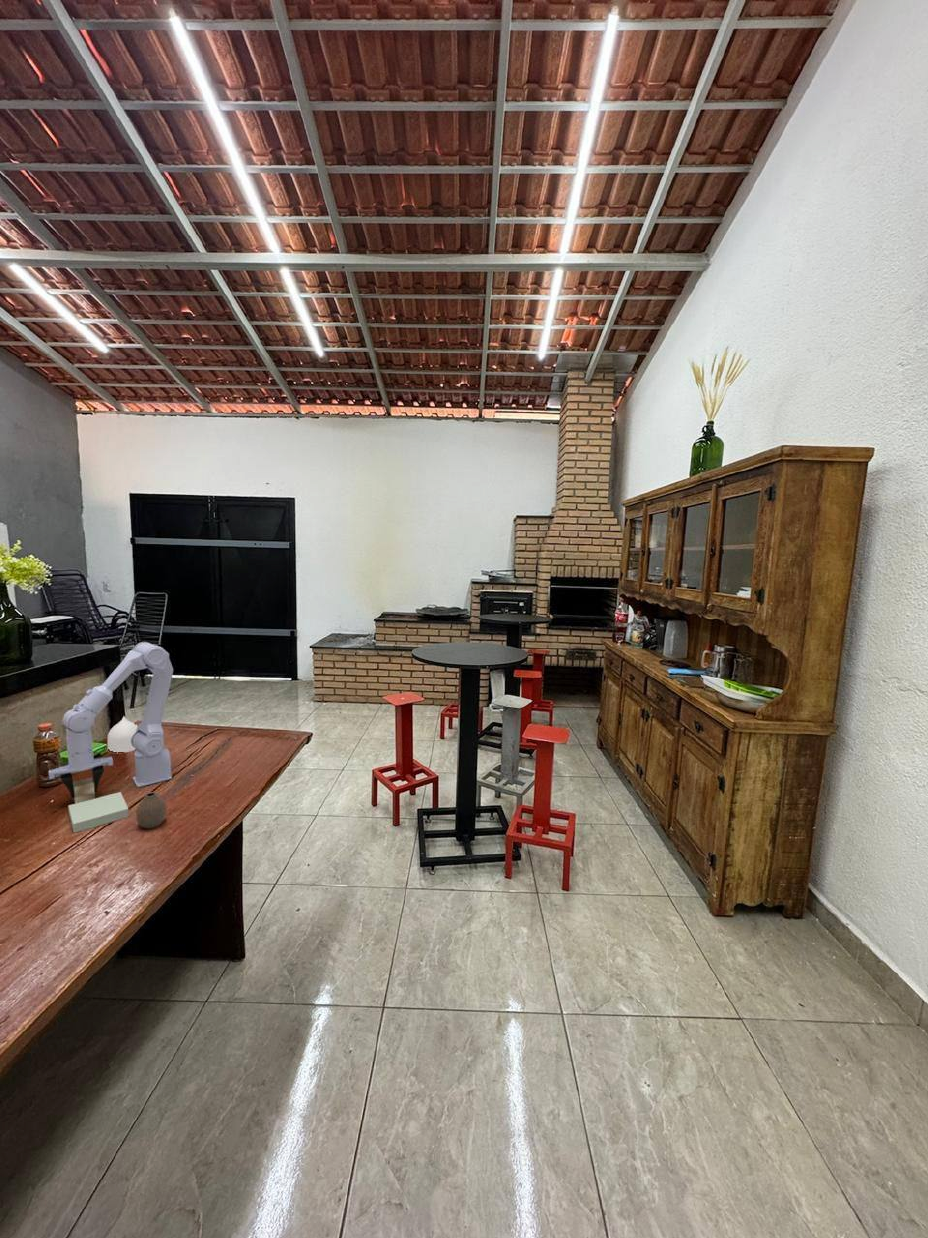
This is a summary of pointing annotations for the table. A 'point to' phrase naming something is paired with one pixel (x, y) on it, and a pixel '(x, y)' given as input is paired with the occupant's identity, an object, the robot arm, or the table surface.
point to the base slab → (97, 812)
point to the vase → (151, 811)
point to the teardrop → (121, 736)
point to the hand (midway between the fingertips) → (84, 794)
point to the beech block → (83, 790)
